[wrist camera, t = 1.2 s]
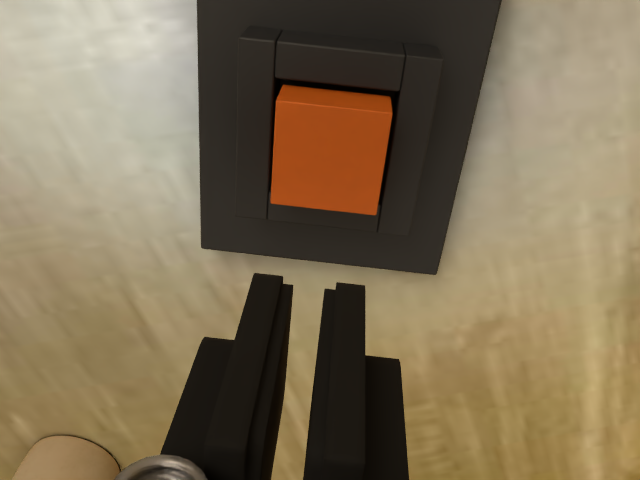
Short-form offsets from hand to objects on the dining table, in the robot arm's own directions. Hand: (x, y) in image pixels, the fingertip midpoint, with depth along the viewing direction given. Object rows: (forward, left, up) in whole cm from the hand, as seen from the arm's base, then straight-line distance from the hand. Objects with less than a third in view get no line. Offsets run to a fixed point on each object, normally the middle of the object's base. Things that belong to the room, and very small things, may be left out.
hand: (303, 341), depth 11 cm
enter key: (0, 0, -11) cm, 11 cm away
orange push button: (0, 0, -13) cm, 13 cm away
